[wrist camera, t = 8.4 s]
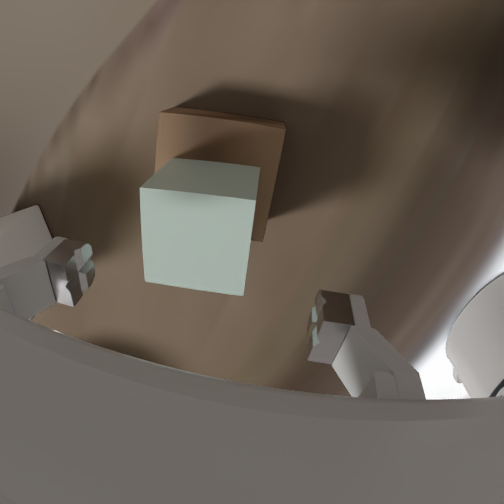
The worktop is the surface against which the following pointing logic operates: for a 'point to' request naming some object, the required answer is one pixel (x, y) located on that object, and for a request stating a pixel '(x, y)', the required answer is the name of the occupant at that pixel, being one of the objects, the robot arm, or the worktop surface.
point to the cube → (198, 224)
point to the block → (225, 147)
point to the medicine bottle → (22, 235)
